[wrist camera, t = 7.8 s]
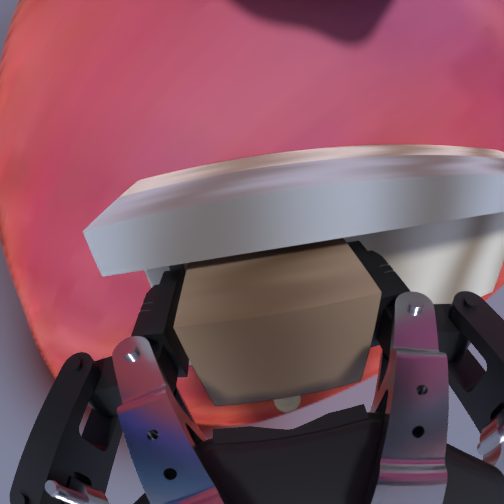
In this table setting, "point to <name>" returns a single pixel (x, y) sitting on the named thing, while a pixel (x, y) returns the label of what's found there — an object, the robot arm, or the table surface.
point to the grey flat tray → (320, 213)
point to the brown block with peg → (278, 322)
